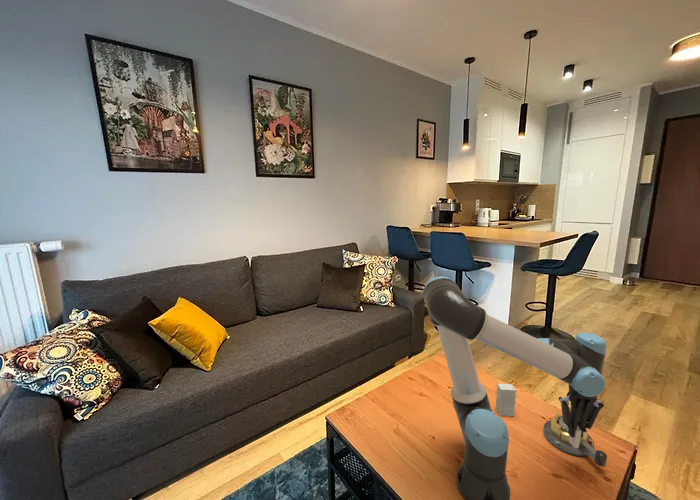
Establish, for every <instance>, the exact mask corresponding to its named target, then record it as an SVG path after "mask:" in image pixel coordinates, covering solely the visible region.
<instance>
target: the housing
mask: <svg viewBox="0 0 700 500" xmlns="http://www.w3.org/2000/svg"><path fill="white" fill-rule="evenodd" d="M559 425H560V426H561V427H562V428H561V430H562V431H563V432H566V433H568V430H569V428H568V427H567V425H566V424H565V423H564V422H563V417H561V418H560V419H559ZM550 427H551V419H549V420H547V421H545V422H544V425H543V431H542V433H543V436H544V438H545V439H546V440H547V442H549V444H550V445H552V446H553V447H554V448H556V449H557V450H559V451H561V452H563V453H564V454H567V455H571V456H572V457H574V456H575V457H580V458H586V457H590V456H589V455H588V454H587V453H586V452H585V451H584V450H582V449H581V448H580V447H579V448H574V447H573V446H572V445H570V444H567V443H564V442H562V441H561V440H559V439H558V438H557V437H555V436H554V435H553V434H552V433H551V432H550ZM587 443H588V444H589V445H590V446H591V447H593V448H594V447H595V442H594V439H593V438H592V437H591V436H590V435H589V434H588V438H587ZM594 449H595V448H594Z"/></svg>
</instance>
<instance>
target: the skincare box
mask: <svg viewBox="0 0 700 500" xmlns="http://www.w3.org/2000/svg"><path fill="white" fill-rule="evenodd" d="M495 396H496V397H495V398H496V399H495V410H496V412H497V414H498V416H499V417H500V416H501V417H503V416H506V417H515V409H516V398H517V397H516V396H517V390H516V388H515V387H514V385H513V383H497V384H496V395H495Z"/></svg>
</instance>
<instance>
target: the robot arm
mask: <svg viewBox="0 0 700 500" xmlns="http://www.w3.org/2000/svg"><path fill="white" fill-rule="evenodd" d="M422 297H423V300H424V302H425V305H426V309H427V313H428V316H429V319H430V323H431V325H433V326H435V327H437V330H438V334H439V338H440V341H441V347H442V350H443V353H444V357H445V360H446V364H447V367H448V371H449V374H450V378H451V379H450V380H451V382H452V385H453V386H452V387H451V390H450V395H451V398H452V405H453V408H454V412H455V414H456V417H457V420H458V423H459V426H460V430H461V433H462V436H463V440H464V441H463V442H464V450H463V452H464V453H463V460H462V462H461V464H460V466H459V467H458V469H457V473H456V474H457V475H456V484H457V485H456V486H457V489H458V491H459V493H460V495H461V496H462V498H463V499H464V500H511V487H510V485H509V481H508V478H507V475H506V474H507V473H506V470H507V462H508V461H507V459H508V450H509V445H510V444H509V443H510V439H509V437H510V436H509V430H508V427H507V425H506V423H505V422H504V420H503V419H502V417H500V415H496V413H495V412H494V411H493V409H492V407H491V404H490V400H489V397H488V395H489V394H488V391H487V388H486V387H485V385H484V384H483V383H481V382H480V379H479V375H478V373H477V368H476V365H475V364H476V363H475V361H474V357H473V354H472V353H473V352H472V349H471V345H470V341H473V340H474V341H475V340H478V341H479V342H482V343H484V344H485V345H488V346H490V347H492V348H494V349H496V350H498V351H500V352H502V353H505V354H506V355H508V356H511V357H513V358H514V359H517V360H519V361H521V362H523V363H525V364H527V365H528V366H531V367H534V368H536V369H537V370H539V371H542V372H543V373H546V374H548V375H549V376H552V377H555V378H556V379H558V380H561V381H562V382H564V383H566V384H568V392H567V393H566V396H563V397H562V396H559V397H558V401H559V402H560V406H561V415H562V416H563V422H564V423H565V424H566V425H567V427H568V428H569V430H568V434H569V435H570V437H569V442H570V443H571V445H572V446H573V447H574V448H579V443H580V438H582V437H583V432H587V430H591V429H592V428H593V425H594V424H595V421H596V419H597V417H598V414H599V413H600V411H601V410H602V408H604V407H605V404H604V403H603V402H602V401H600V399H598V396H600V395H601V393H603V392H604V390H605V389H606V380H605V378H604V376H603V374H602V373H603V368H604V362H605V357H606V355H607V353H606V352H607V342H606V340H605V339H604V338H603V337H601V336H599V335H597V334H594V333H591V332H583V331H582V332H579V333H578V332H577V334H576V335H575V339H562V338H548V337H546V338H545V337H539V338H538V337H534V336H533V335H530V334H529V333H526V332H524V331H522V330H520V329H518V328H516V327H514V326H511V325H510V324H508V323H505V322H503V321H501V320H499V319H498V318H495V317H493V316H491V315H489V314H487V311H486V309H484V308H483V307H481V306H478V305H477V304H475V303H473V301H471V300H470V299H469V298H468V297H466V295H465V294H464V292H462V290H461V289H460V287H459V286H458V283H456V281H454V280H453V279H451V278H449V277H447V276H443V275H442V276H435V277H432V278H431V279H429V280H428V281H427V282H426V283H425V285H424V287H423V292H422ZM586 429H587V430H586Z"/></svg>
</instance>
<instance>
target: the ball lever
mask: <svg viewBox="0 0 700 500" xmlns="http://www.w3.org/2000/svg"><path fill="white" fill-rule="evenodd" d="M561 417H563V416H562V413H555V416H552V417H551V419H550V420H551V427H550V432H551V433H552V434H553V435H554V436H555V437H557V438H558V439H559V440H561V441H562V442H564V443H567V444H570V445H571V443H570V442H569V437H570V435H569V434H568V433H566V432H563V431H562V430H561V428H562V427H561V426H560V425H559V419H560V418H561ZM586 430H587V432H583V437H582V438H580V443H579V447H580V448H581V449H582V450H584V451H585V452H586V453H587V454H588V455H589V456H588V457H590V458H591V459H592V460H593V461H594V463H595V464H596V465H597V466H600V467H602V468H605V467H606V465H607V459H608V455H607V454H606V453H605V451H603V450H599V449H597V450H596V449H595V448H593V447H591V446H590V445H589V444H588V443H587V438H588V435H589V434H588V430H589V429H588V428H586Z"/></svg>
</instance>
